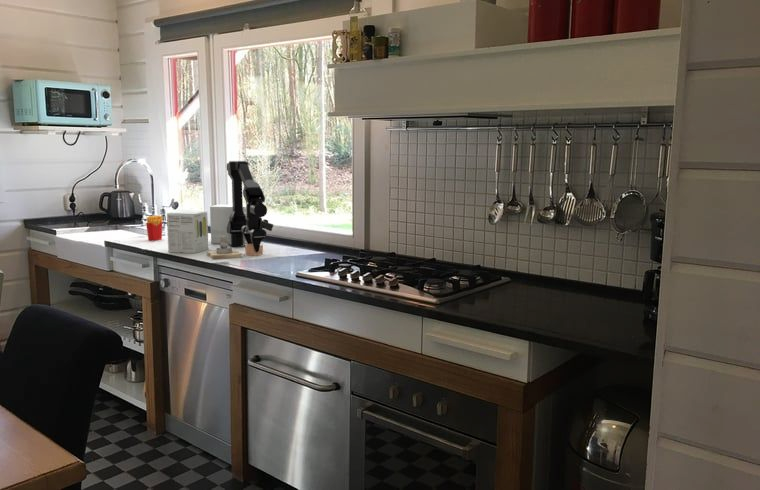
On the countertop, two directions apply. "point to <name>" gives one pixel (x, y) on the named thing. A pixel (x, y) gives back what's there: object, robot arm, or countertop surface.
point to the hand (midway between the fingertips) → (254, 250)
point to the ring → (253, 250)
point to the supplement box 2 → (222, 222)
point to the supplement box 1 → (187, 231)
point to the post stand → (224, 251)
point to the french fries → (154, 228)
